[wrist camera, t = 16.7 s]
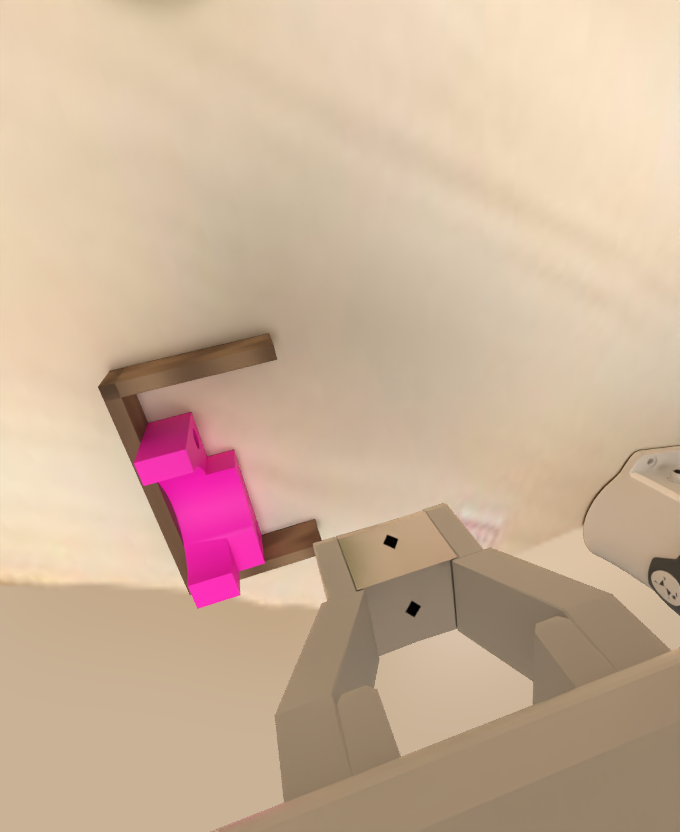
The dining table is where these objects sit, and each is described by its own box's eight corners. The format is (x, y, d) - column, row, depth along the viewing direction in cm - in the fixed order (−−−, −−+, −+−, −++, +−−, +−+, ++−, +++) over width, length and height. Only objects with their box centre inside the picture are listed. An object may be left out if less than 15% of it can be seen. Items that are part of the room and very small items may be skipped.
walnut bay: (268, 333, 38) (273, 345, 35) (317, 528, 48) (324, 552, 44) (109, 370, 37) (97, 386, 33) (192, 566, 46) (190, 595, 42)
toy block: (261, 533, 47) (268, 586, 40) (200, 552, 46) (197, 608, 39) (219, 403, 40) (219, 440, 33) (148, 422, 39) (133, 463, 32)
